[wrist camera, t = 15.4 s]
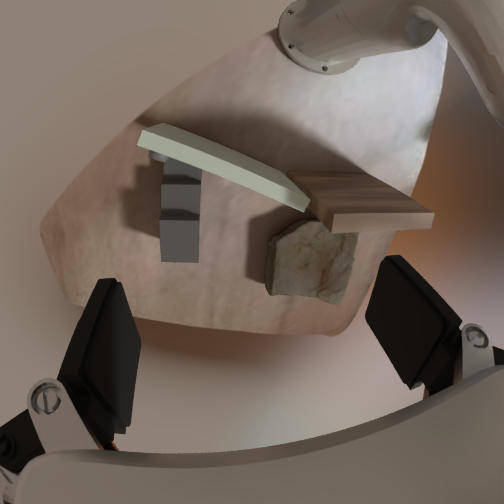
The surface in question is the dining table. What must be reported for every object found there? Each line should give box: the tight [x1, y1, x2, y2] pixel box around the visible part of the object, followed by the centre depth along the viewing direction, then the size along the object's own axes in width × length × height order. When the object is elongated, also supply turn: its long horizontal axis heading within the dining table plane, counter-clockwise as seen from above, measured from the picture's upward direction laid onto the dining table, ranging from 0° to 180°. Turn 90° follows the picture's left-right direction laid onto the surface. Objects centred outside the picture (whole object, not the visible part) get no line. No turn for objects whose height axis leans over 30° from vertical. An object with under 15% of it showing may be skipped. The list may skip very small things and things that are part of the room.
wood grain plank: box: [288, 172, 435, 234], centre depth 33 cm, size 2×14×16 cm, turn 90°
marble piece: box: [264, 219, 359, 305], centre depth 45 cm, size 17×15×4 cm
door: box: [137, 122, 310, 213], centre depth 30 cm, size 3×18×12 cm, turn 64°
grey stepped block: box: [159, 157, 202, 263], centre depth 35 cm, size 14×5×6 cm, turn 174°
